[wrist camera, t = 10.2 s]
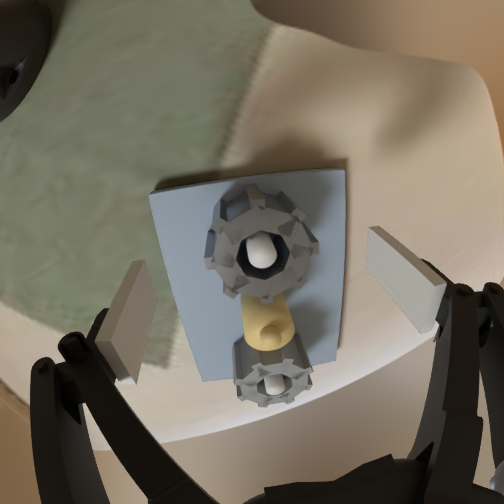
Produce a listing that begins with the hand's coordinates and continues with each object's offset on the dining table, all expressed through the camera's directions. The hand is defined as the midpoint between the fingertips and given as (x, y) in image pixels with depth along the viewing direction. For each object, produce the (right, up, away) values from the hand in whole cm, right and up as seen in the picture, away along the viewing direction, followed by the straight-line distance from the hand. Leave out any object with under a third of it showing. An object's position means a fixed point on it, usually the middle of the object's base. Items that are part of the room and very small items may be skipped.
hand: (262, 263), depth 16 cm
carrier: (0, -3, +11) cm, 12 cm away
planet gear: (0, +2, +7) cm, 8 cm away
